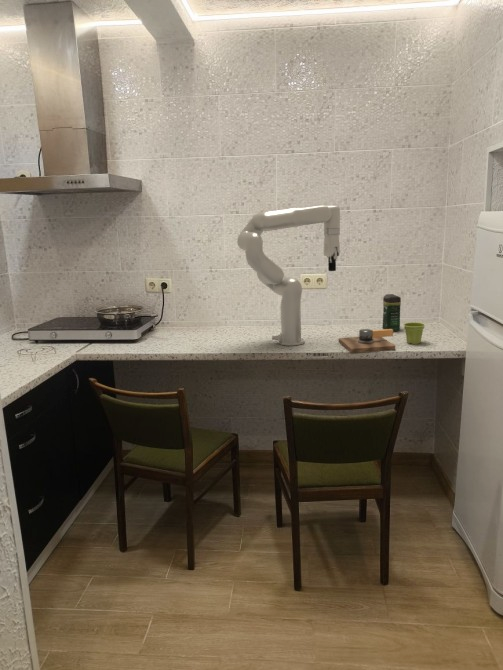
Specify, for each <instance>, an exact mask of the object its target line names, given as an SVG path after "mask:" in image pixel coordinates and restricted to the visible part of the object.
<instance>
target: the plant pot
mask: <svg viewBox="0 0 503 670" xmlns="http://www.w3.org/2000/svg"><path fill="white" fill-rule="evenodd" d="M403 326H404V330H405V337H406V343H407V344H412V345H418V344H421V343H422V336H423V332H424V328H425V326H426V324H425V323H422V322H416V321H415V322H405V323H404V324H403Z"/></svg>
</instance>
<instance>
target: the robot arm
mask: <svg viewBox="0 0 503 670" xmlns="http://www.w3.org/2000/svg"><path fill="white" fill-rule="evenodd" d="M322 223H323V236H324V238H323V256H324V257H326V258H327V263H328V264H327V266H328V271H329V272H336V270H337V260H338V257H339V256H340V253H341V252H340V251H341V249H340V236H341V208H340V206H339V205H326V204H325V205H322V204H321V205H314V206H310V207H297V208H296V207H292V208H283V209H279V210H278V209H277V210H271V211H261V212H257V213H256V214H254V215H253V216H252V217H251V219H250V220H249V221H248V223H247V224H245V227H244V228H243V229H242V230H241V232H240V233H239V234H238V237H237V240H236V243H237V246H238V247H239V248H240V250H242V251H245V260H246V262H247V264H248V265H249V267H250V268H251V269H252V270H253V271H255V272H256V276H257V278H258V279H259V281H260V282H261V283H262V284H263V285H265V286H266V287H267V288H268V289H270V290H271V291H272V292H273V293H275V294H277V295H278V296H281V302H280V325H281V327H280V329H281V332H280V333H279V334H278V335H272V336H271V341H272V340H275V341H278V344H279V345H282V346H289V347H291V346H299V345H300V346H301V345H303V344H305V339H304V338H302V312H301V307H302V306H301V303H302V293H303V287H302V283H301V282H300V281H299V280H298V279H297V278H294V277H290V276H286V275H285V273H284V271H283V269H282V267H280V266H279V264H276V263H275V262H274V261H273V260H271V259H270V258H269V257H268V256H267V255H266V254H265V253H264V250H263V249H264V247H263V244H264V243H263V242H264V241H263V237H262V234H263V233H264V232H271V231H277V230H282V229H290V228H298V227H302V226H308V225H309V226H310V225H317V224H322Z"/></svg>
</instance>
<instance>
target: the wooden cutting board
mask: <svg viewBox="0 0 503 670" xmlns="http://www.w3.org/2000/svg"><path fill="white" fill-rule="evenodd" d="M338 343H339V344H340V345H341V346H342V347H344V349H346V350H347V351H348V352H349V353H350V354H360V353H362V354H363V353H373V352H375V353H376V352H387V351H396V345H395V344H393V343H392V342H391V341H389V340H387V339H386V338H385V337H375V338H373V339H372V340H369V341H363V340H359V336H352V337H351V336H350V337H338Z"/></svg>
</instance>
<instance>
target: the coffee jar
mask: <svg viewBox="0 0 503 670" xmlns="http://www.w3.org/2000/svg"><path fill="white" fill-rule="evenodd" d="M382 304H383V308H382V309H383V311H382V330H384V329H392V330H393V332H398V331H400V330H401V304H402V301H401V297H400V296H398V295H395V294H394V293H390V294H389V293H387V294H385V295H384V296H383V299H382Z"/></svg>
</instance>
